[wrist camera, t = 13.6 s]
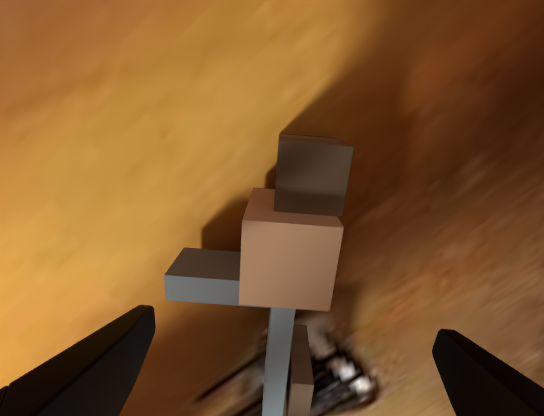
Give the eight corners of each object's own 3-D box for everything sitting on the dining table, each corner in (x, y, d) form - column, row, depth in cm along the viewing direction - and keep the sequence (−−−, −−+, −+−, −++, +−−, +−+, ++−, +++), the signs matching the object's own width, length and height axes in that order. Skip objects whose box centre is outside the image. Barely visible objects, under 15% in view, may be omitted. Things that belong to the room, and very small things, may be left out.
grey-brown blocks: (296, 396, 22) (300, 465, 17) (258, 393, 22) (253, 462, 17) (333, 137, 15) (353, 147, 11) (279, 133, 15) (278, 141, 11)
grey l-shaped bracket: (281, 365, 20) (281, 422, 16) (191, 358, 20) (170, 413, 16) (293, 250, 17) (298, 289, 13) (187, 242, 17) (161, 278, 13)
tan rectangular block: (315, 256, 17) (329, 311, 12) (250, 250, 17) (238, 304, 12) (323, 193, 15) (343, 227, 11) (253, 187, 15) (242, 219, 11)
